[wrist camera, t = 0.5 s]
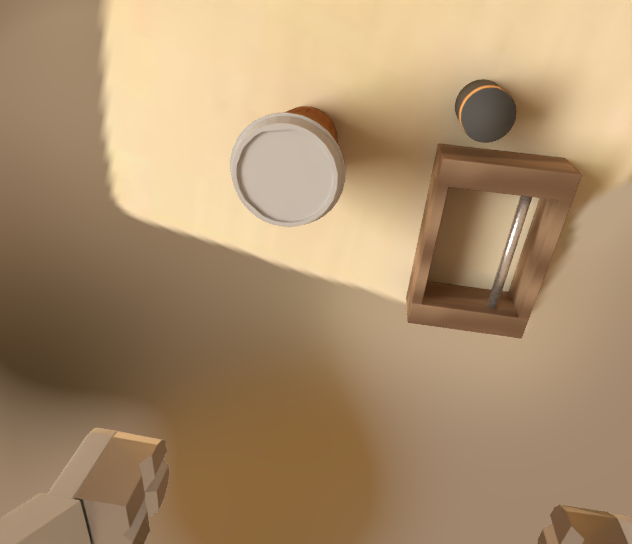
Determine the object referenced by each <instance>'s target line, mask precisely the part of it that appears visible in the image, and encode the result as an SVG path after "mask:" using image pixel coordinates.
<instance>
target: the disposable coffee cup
mask: <svg viewBox="0 0 632 544" xmlns="http://www.w3.org/2000/svg"><path fill="white" fill-rule="evenodd" d="M230 171H231V177H232V181H233V184H234V187H235V190H236V192H237V194H238V197H239V198H240V200H241V201H242V203H243V204H244V205H245V207H246V208H247V209H248V210H249V211H250V212H251V213H253V214H254V215H255V216H256V217H258V218H260V219H261V220H263V221H265V222H268V223H270V224H273V225H278V226H285V227H294V226H300V225H305V224H309V223H311V222H314V221H316V220H318V219H320V218H321V217H323V216H324V215H326V214H327V213H328V212H329V211H330V210H331V209H332V208H333V207H334V205H335V204H336V203H337V201H338V199H339V197H340V195H341V193H342V190H343V186H344V182H345V164H344V159H343V156H342V153H341V150H340V148H339V146H338V141H337V132H336V129H335V126H334V124H333V122H332V121H331V119H330V118H329V117H328V116H327V115H326V114H325V113H323V112H322V111H320V110H318V109H316V108H313V107H306V106H305V107H297V108H294V109H292V110H289V111H287V112H284V113H274V114H269V115H266V116H263V117H261V118H259V119H257V120H255V121H254V122H252V123H251V124H250V125H249V126H247V127H246V128H245V129H244V130H243V132H242V133H241V134H240V136H239V137H238V138H237V141H236V143H235V145H234V147H233V150H232V155H231V160H230Z"/></svg>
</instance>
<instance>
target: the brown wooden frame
mask: <svg viewBox="0 0 632 544" xmlns="http://www.w3.org/2000/svg"><path fill="white" fill-rule="evenodd" d="M581 176H582V175H581V174H580V173H579V172H578V171H577V170H576V169H575V168H574V167H573V166H572V165H571V164H570V163H569V162H568V161H567V160H566V159H565V158H559V157H550V156H541V155H533V154H524V153H515V152H506V151H498V150H489V149H480V148H472V147H463V146H454V145H445V144H438V147H437V152H436V157H435V162H434V167H433V171H432V176H431V181H430V186H429V191H428V195H427V200H426V205H425V210H424V215H423V220H422V224H421V229H420V234H419V239H418V244H417V248H416V253H415V258H414V263H413V268H412V273H411V277H410V282H409V287H408V292H407V297H406V300H407V316H408V323H415V324H422V325H429V326H436V327H443V328H450V329H458V330H465V331H472V332H479V333H486V334H493V335H500V336H507V337H514V338H522V336H523V333H524V331H525V328H526V325H527V322H528V320H529V317H530V314H531V312H532V309H533V306H534V303H535V301H536V298H537V295H538V293H539V290H540V287H541V284H542V282H543V279H544V276H545V274H546V271H547V268H548V265H549V263H550V260H551V257H552V255H553V252H554V249H555V246H556V244H557V241H558V238H559V235H560V233H561V230H562V227H563V225H564V222H565V219H566V216H567V214H568V211H569V208H570V206H571V203H572V200H573V197H574V195H575V192H576V189H577V187H578V184H579V181H580V178H581ZM448 187H454V188H463V189H471V190H479V191H488V192H496V193H504V194H512V195H521V196H529V197H537V198H540V199H539V202H538V205H537V208H536V211H535V214H534V217H533V220H532V223H531V226H530V229H529V232H528V235H527V238H526V241H525V244H524V247H523V250H522V253H521V256H520V259H519V262H518V266H517V269H516V272H515V275H514V278H513V281H512V284H511V287H510V290H509V292H501V295H500V298H499V301H498V305H497V308H496V309H490V308H488V307H487V303H488V300H489V296H490V293H491V290H488V289H480V288H473V287H465V286H458V285H450V284H443V283H435V282H428V281H427V278H428V274H429V269H430V265H431V261H432V256H433V252H434V248H435V243H436V239H437V234H438V230H439V226H440V221H441V217H442V212H443V208H444V204H445V199H446V195H447V191H448Z"/></svg>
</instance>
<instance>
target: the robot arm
mask: <svg viewBox="0 0 632 544" xmlns="http://www.w3.org/2000/svg"><path fill="white" fill-rule="evenodd" d="M166 452H167V448H166V441H165V440H160V439H155V438H149V437H144V436H139V435H134V434H129V433H124V432H119V431H113V430H107V429H101V428H94V429H93V430H92V431H91V432H90V433H88V435H87V436H86V437H85V439H84V440H83V442H82V443H81V445H80V446H79V448H78V449H77V451H76V452H75V454H74V455H73V457H72V458H71V459H70V461H69V462H68V464H67V466H66V467H65V468H64V470H63V471H62V473H61V474H60V476H59V477H58V479H57V480H56V481H55V483H54V484H53V486H52V487H51V489H50V490H49V492H48V493H47V494H43V493H39V494H38V495H36V496H34V497H33V498H31V499H30V500H28V501H27V502H25V503H23V504H22V505H20V506H18V507H17V508H15V509H13V510H12V511H10V512H9V513H7V514H5V515H4V516H2V517H1V518H0V544H144V543H145V540H146V538H147V536H148V534H149V531H150V527H149V520H148V518H149V517H151V516H152V515H153V514H155V513H156V512H157V511H159V509H160V506H161V504H162V502H163V499H164V497H165V493H166V489H167V486H168V480H169V465H168V464H167V463H166V462H165V461H164V460H163V459H164V457H165V454H166ZM550 517H551V520H552V524H551V525H549V526H547V527H545V528H543V529H542V531H541V533H540V536H539V538H538V544H632V516H625V515H619V514H612V513H608V512H605V511H598V510H591V509H585V508H578V507H571V506H565V505H558V506H556V507H554V509H553V511H552V512H551V514H550Z"/></svg>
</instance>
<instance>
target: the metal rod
mask: <svg viewBox="0 0 632 544" xmlns="http://www.w3.org/2000/svg"><path fill="white" fill-rule="evenodd" d="M531 199H532V197H529V196H520V200H519V203H518V206H517V209H516V212H515V216H514V219H513V222H512V225H511V229H510V232H509V235H508V238H507V242H506V245H505V248H504V251H503V254H502V258H501V261H500V264H499V267H498V271H497V274H496V277H495V280H494V284H493V287H492V290H491V293H490V296H489V300H488V303H487V307H488V308H490V309H496V308H497V305H498V301H499V298H500V295H501V292H502V289H503V286H504V283H505V280H506V277H507V274H508V270H509V267H510V264H511V261H512V258H513V255H514V252H515V249H516V246H517V243H518V239H519V236H520V233H521V230H522V227H523V224H524V221H525V218H526V215H527V212H528V208H529V205H530V202H531Z"/></svg>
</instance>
